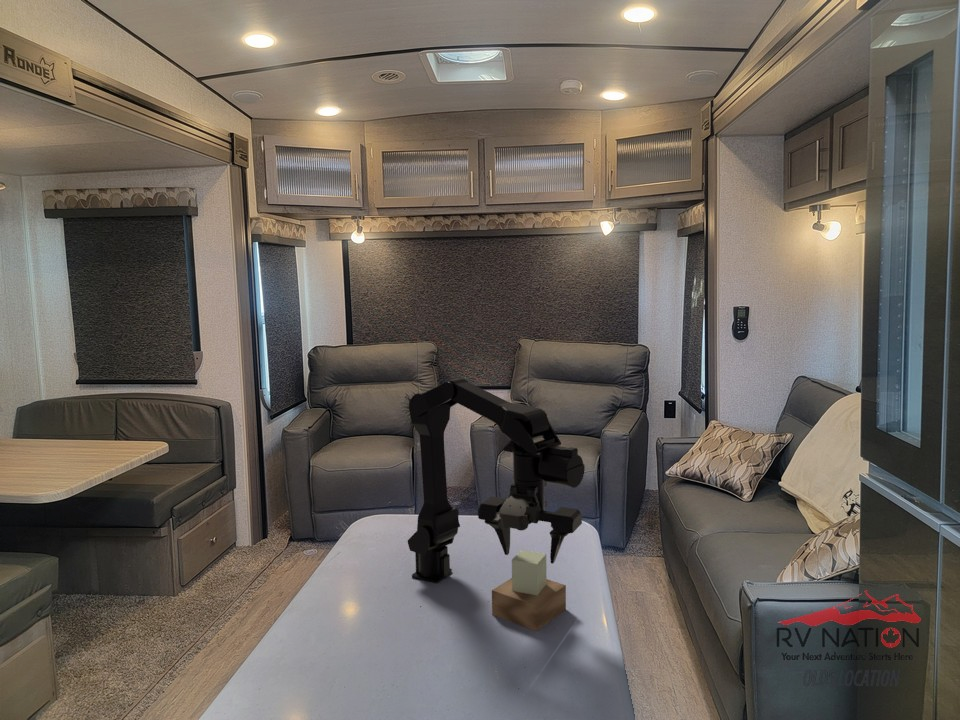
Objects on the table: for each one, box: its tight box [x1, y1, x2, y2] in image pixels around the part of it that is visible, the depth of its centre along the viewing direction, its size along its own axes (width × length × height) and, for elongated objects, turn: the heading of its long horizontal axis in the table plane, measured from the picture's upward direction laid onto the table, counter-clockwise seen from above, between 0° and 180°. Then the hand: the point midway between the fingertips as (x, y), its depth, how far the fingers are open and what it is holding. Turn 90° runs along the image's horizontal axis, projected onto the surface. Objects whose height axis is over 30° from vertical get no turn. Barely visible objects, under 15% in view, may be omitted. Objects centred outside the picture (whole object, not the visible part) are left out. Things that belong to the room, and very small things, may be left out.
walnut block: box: [491, 577, 567, 632], centre depth 124 cm, size 10×10×5 cm
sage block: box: [511, 549, 547, 596], centre depth 123 cm, size 5×5×6 cm
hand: (529, 558), depth 123 cm, fingers open, 9 cm apart
